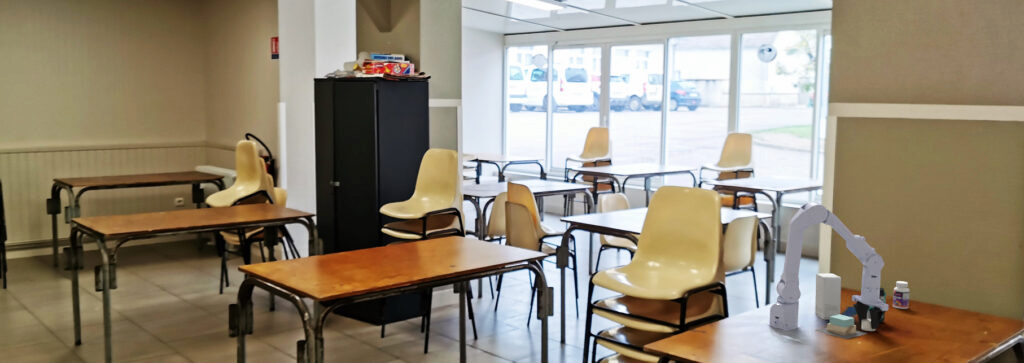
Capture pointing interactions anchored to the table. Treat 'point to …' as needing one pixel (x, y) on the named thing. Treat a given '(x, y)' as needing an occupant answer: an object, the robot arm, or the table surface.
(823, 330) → the mat
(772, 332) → the table surface
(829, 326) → the bottom block
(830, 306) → the skincare box
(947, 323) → the table surface
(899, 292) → the pill bottle
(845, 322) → the top block
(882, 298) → the beverage can
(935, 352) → the table surface
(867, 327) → the white short cylinder
